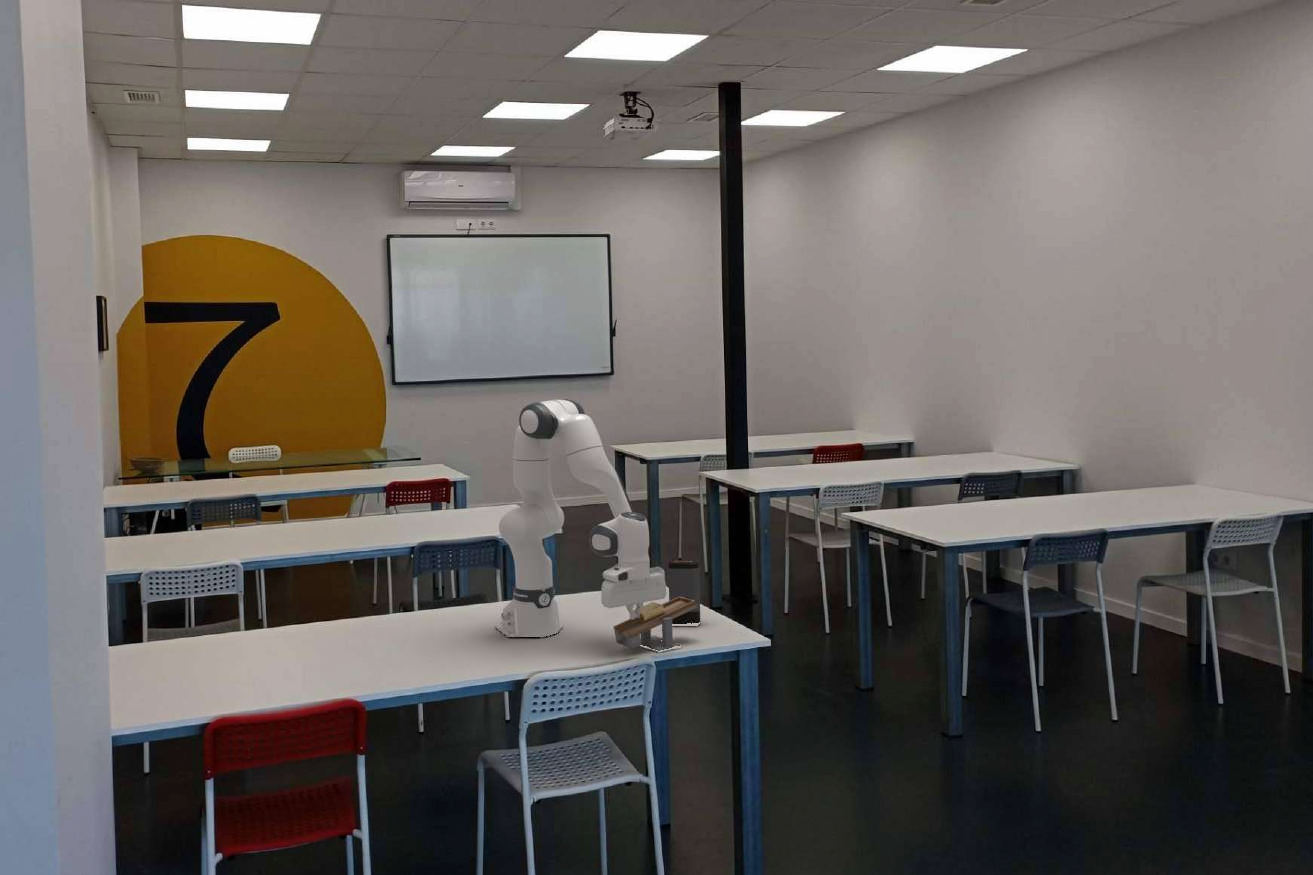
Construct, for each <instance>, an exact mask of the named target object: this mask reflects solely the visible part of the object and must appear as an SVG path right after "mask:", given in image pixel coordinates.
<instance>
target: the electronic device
mask: <svg viewBox="0 0 1313 875" xmlns="http://www.w3.org/2000/svg"><path fill="white" fill-rule="evenodd" d="M667 566H668V567H667V568H668V601H670V600H672V599H674V598H676V597H679V596H680V597H684V598H687V599H691V600H694V601H696V604H697V608H695V609H693V610H691V611H688V612H686V613H684V614H682V615H680V616H678V617H676V618H674V619H672V624H687V623H691V624H692V623H699V622H700V623H701V588H700V587H701V584H700V583H701V580H700V560H699V559H698V558H691V560H678V559H677V558H671V559H669V561H668V565H667Z"/></svg>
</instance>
